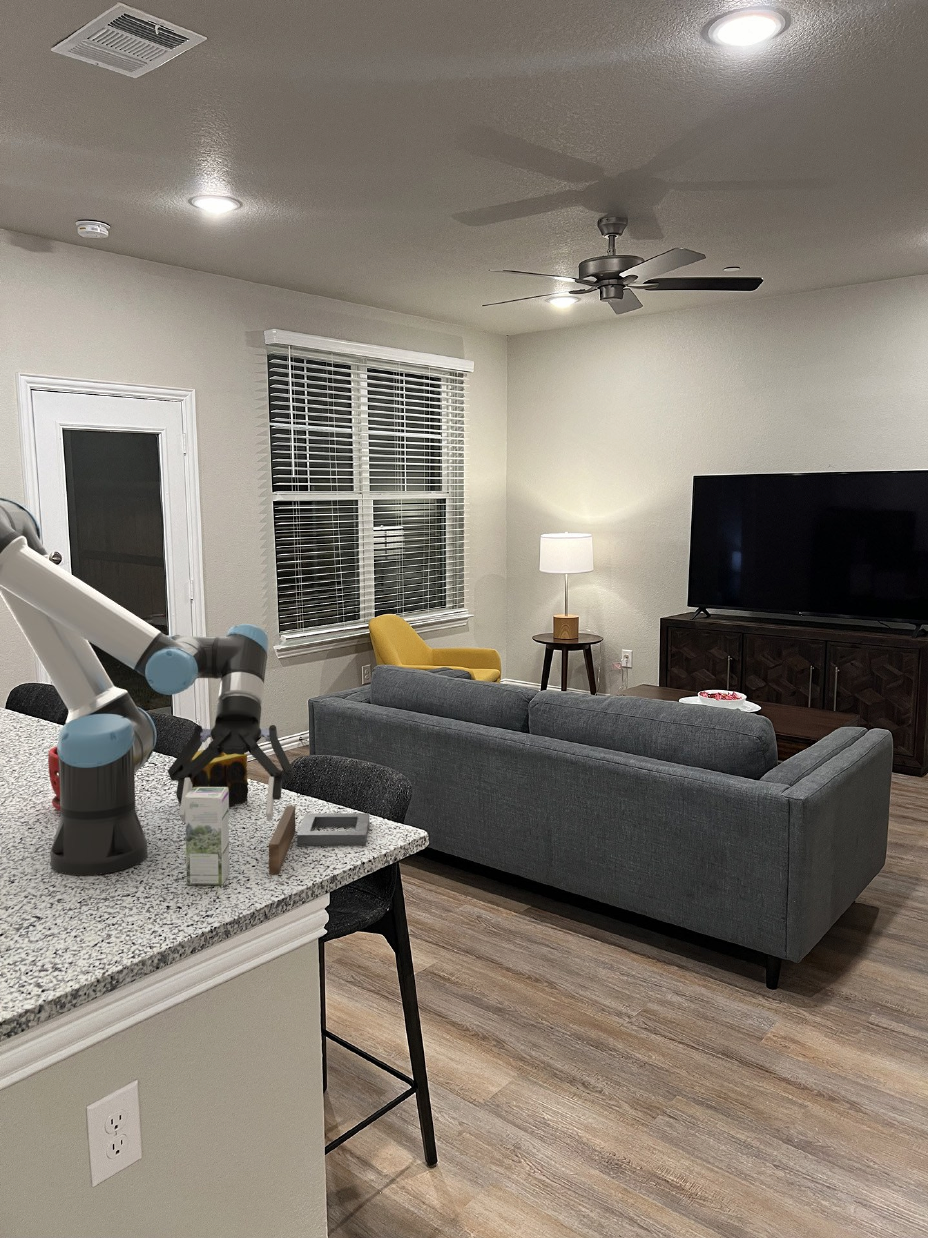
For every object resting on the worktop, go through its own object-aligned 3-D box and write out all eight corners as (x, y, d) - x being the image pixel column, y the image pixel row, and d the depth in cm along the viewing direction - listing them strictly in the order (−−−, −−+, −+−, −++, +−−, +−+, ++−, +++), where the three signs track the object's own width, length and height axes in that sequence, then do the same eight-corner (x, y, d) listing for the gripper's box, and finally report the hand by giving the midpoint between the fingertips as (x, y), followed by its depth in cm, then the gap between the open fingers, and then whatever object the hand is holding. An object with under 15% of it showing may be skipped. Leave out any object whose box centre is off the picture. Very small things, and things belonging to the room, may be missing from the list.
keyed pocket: (297, 846, 165) (296, 835, 164) (305, 823, 176) (305, 813, 176) (365, 845, 165) (365, 834, 165) (369, 823, 177) (369, 813, 177)
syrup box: (230, 872, 152) (229, 785, 151) (222, 886, 146) (221, 796, 145) (195, 872, 152) (193, 785, 150) (185, 886, 146) (183, 796, 144)
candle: (208, 814, 181) (207, 764, 180) (176, 804, 187) (175, 755, 186) (249, 802, 189) (249, 754, 188) (217, 793, 196) (217, 746, 194)
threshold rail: (268, 874, 152) (268, 844, 151) (286, 832, 171) (286, 806, 171) (278, 874, 152) (278, 844, 151) (295, 832, 171) (295, 806, 171)
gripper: (313, 715, 167) (306, 826, 155) (171, 716, 166) (152, 828, 153) (310, 692, 161) (302, 806, 149) (162, 693, 160) (142, 808, 147)
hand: (226, 818), depth 151 cm, fingers open, 13 cm apart
